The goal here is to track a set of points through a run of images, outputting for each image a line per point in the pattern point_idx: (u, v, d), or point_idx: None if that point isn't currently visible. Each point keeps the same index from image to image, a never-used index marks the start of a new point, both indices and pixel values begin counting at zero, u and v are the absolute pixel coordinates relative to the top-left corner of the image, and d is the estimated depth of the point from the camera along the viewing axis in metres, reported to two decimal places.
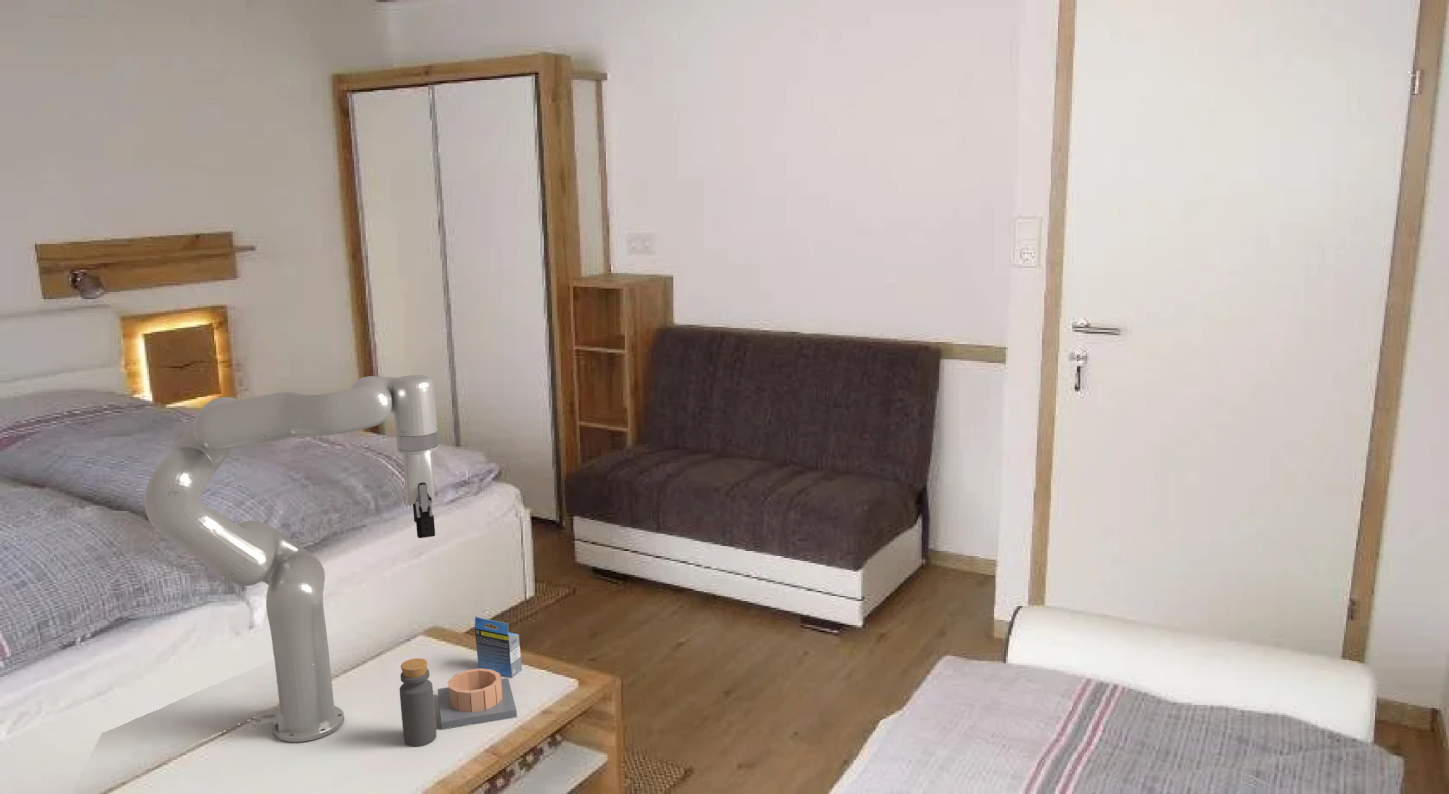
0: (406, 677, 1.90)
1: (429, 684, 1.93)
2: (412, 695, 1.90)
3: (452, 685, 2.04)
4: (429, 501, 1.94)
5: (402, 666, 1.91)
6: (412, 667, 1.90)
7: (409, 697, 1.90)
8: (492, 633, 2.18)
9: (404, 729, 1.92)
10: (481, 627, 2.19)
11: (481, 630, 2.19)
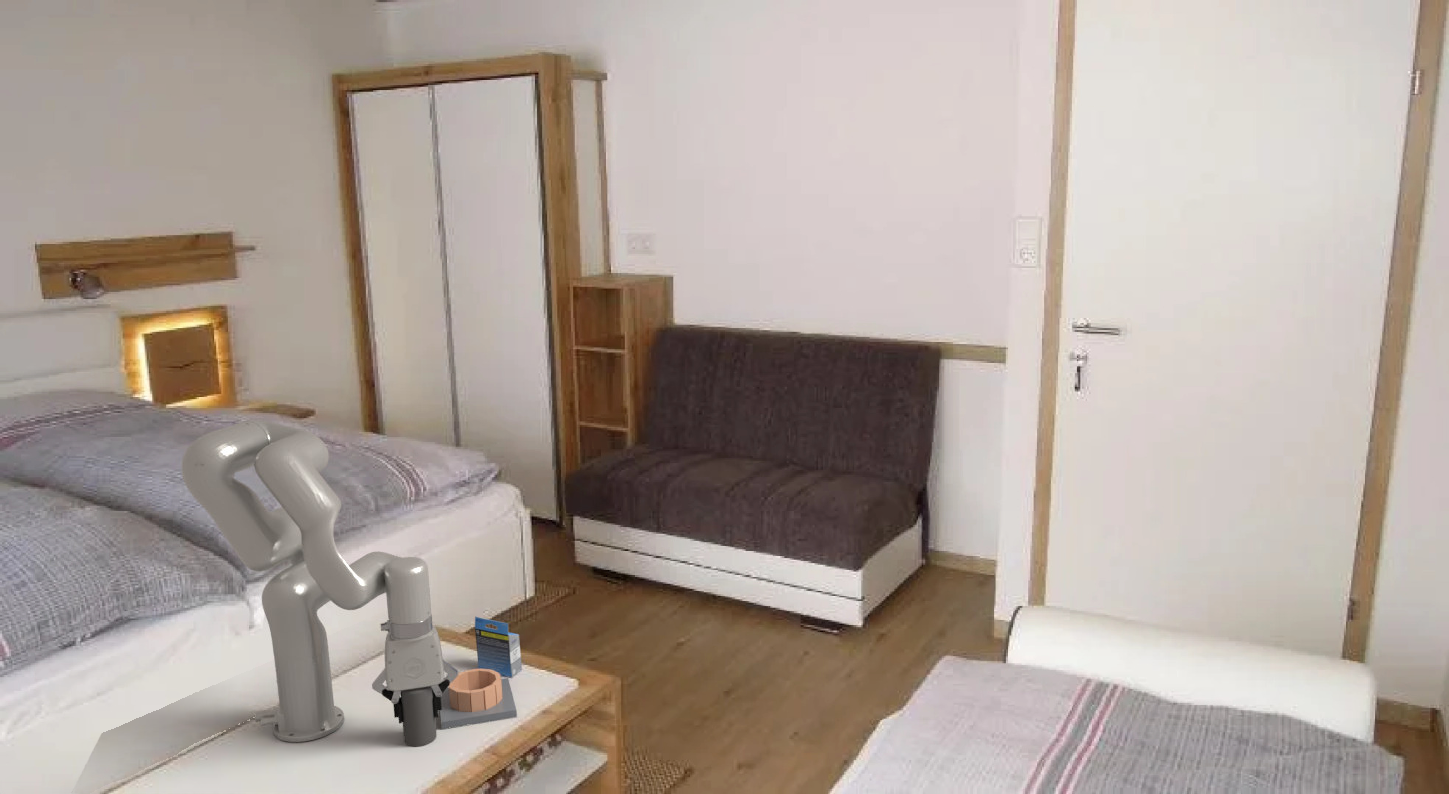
0: None
1: None
2: (413, 695, 1.90)
3: (452, 685, 2.04)
4: None
5: None
6: None
7: (409, 697, 1.90)
8: (492, 633, 2.18)
9: (404, 729, 1.92)
10: (482, 627, 2.19)
11: (481, 630, 2.19)
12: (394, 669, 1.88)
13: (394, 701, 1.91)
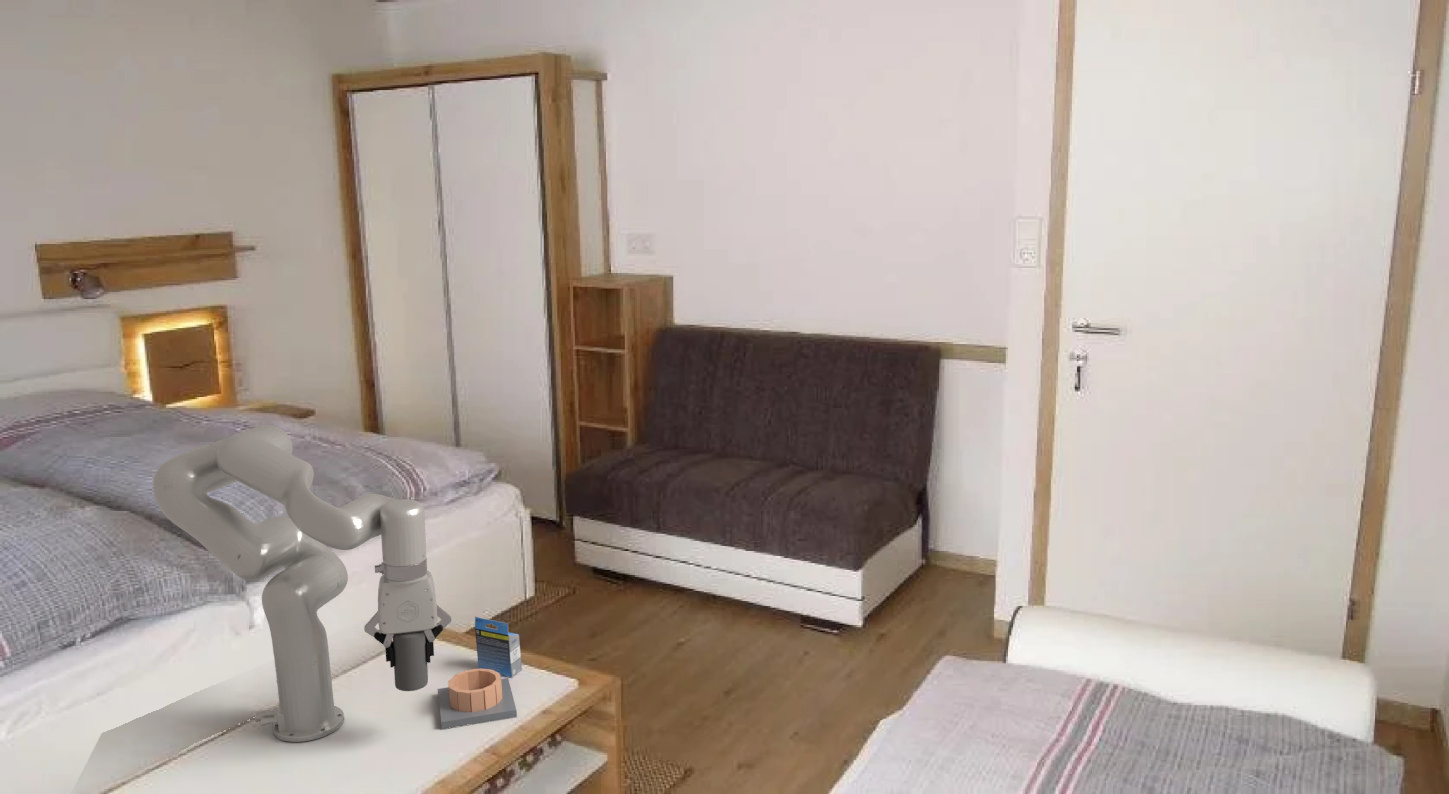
0: None
1: None
2: (405, 639, 1.88)
3: (452, 685, 2.04)
4: None
5: None
6: None
7: (402, 641, 1.88)
8: (492, 633, 2.18)
9: (396, 673, 1.90)
10: (482, 627, 2.19)
11: (481, 630, 2.19)
12: (387, 612, 1.86)
13: (386, 644, 1.89)
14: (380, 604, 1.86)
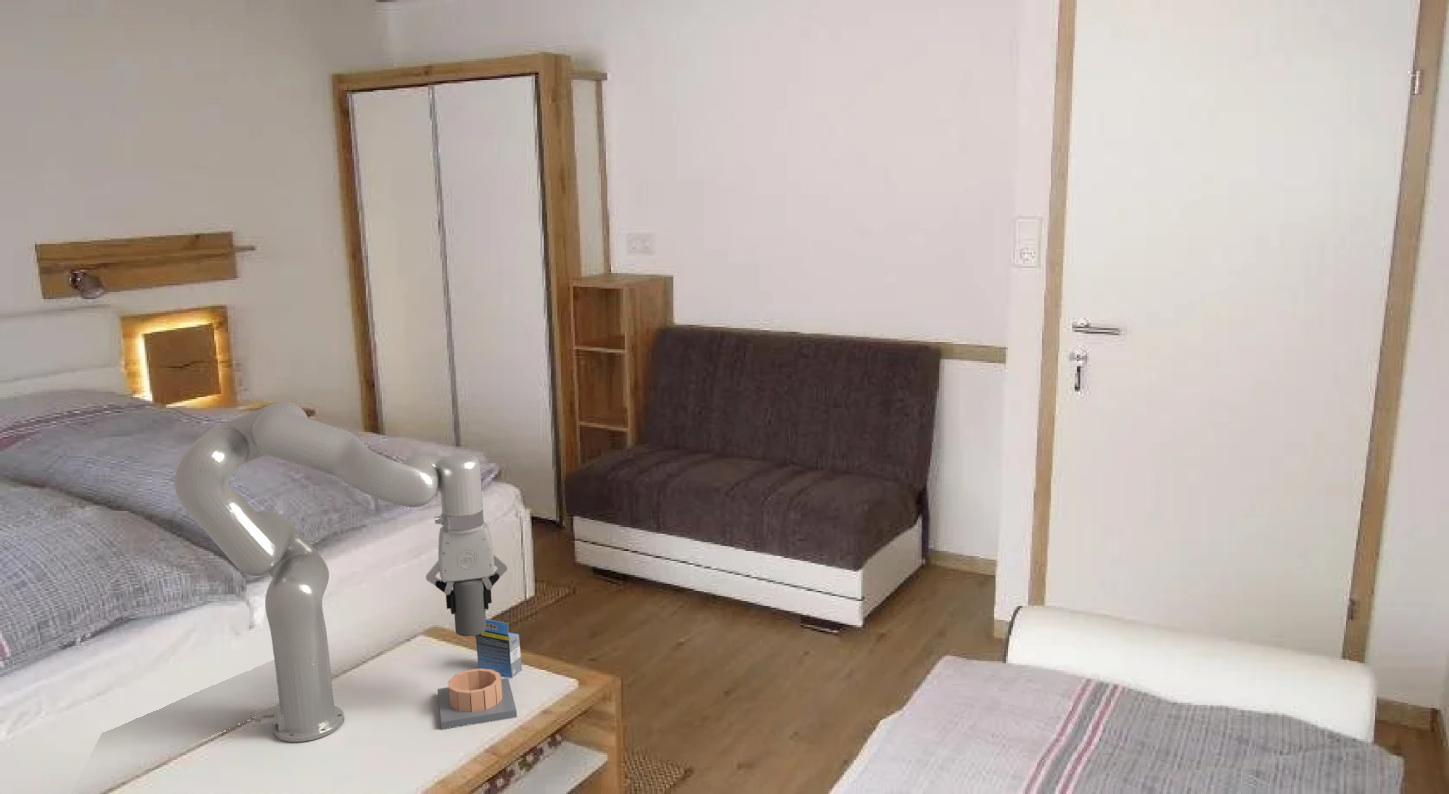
0: None
1: None
2: (465, 586, 1.99)
3: (452, 685, 2.04)
4: None
5: None
6: None
7: (462, 588, 1.99)
8: (492, 633, 2.18)
9: (456, 620, 2.01)
10: None
11: None
12: (448, 560, 1.97)
13: (447, 592, 1.99)
14: (441, 553, 1.96)
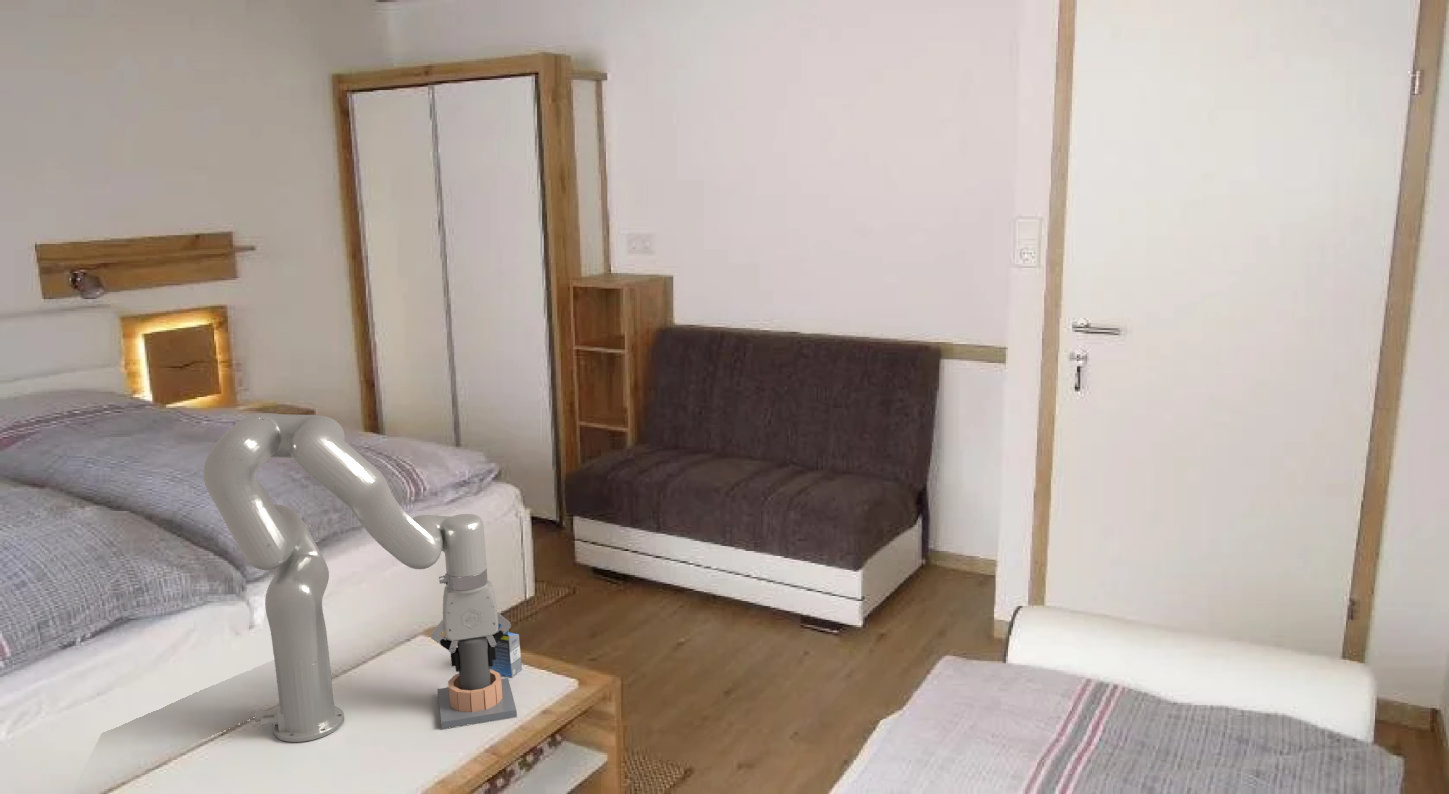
0: None
1: None
2: (470, 645, 2.01)
3: (452, 685, 2.04)
4: None
5: None
6: None
7: (466, 646, 2.01)
8: None
9: (461, 677, 2.03)
10: None
11: None
12: (452, 620, 1.99)
13: (452, 650, 2.02)
14: (445, 612, 1.99)
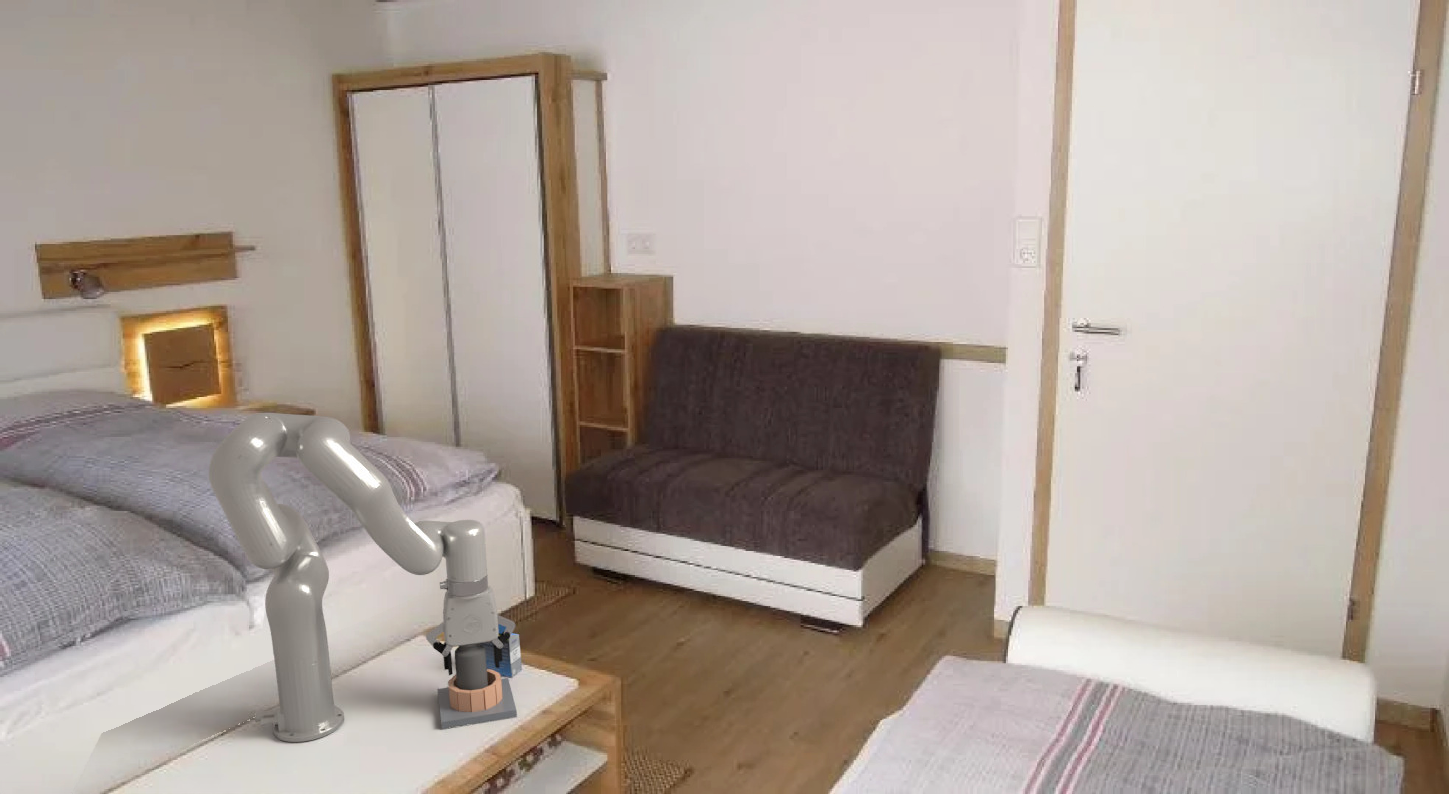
0: None
1: (482, 648, 2.04)
2: (467, 658, 2.01)
3: (452, 685, 2.04)
4: None
5: None
6: None
7: (463, 660, 2.01)
8: None
9: None
10: None
11: None
12: (453, 625, 1.99)
13: (444, 654, 2.01)
14: (446, 618, 1.99)
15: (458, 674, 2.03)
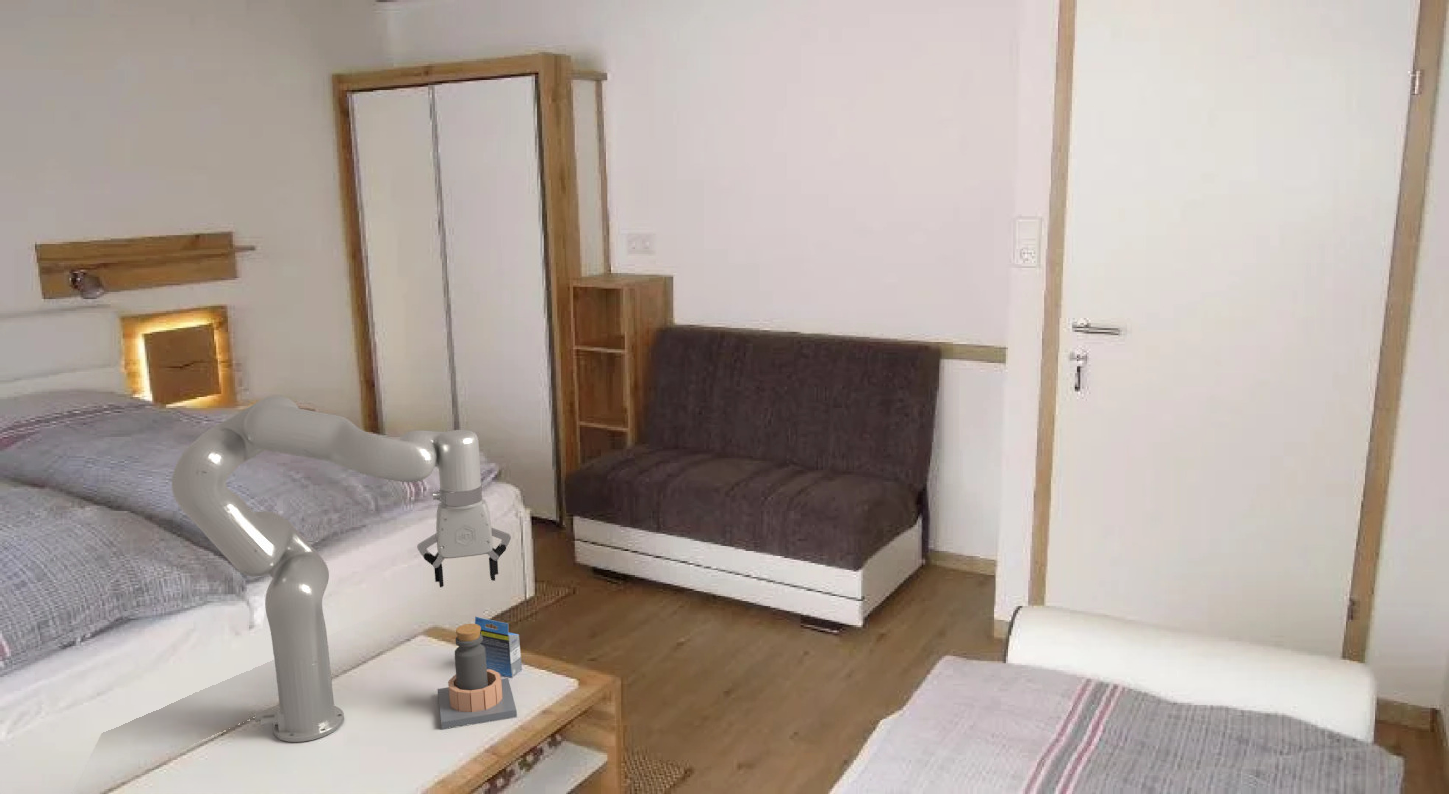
0: (461, 641, 2.02)
1: (482, 648, 2.04)
2: (467, 658, 2.01)
3: (452, 685, 2.04)
4: None
5: (457, 630, 2.02)
6: (466, 631, 2.02)
7: (463, 660, 2.01)
8: (492, 633, 2.18)
9: None
10: (482, 627, 2.19)
11: (481, 630, 2.19)
12: (446, 536, 1.96)
13: (435, 565, 1.98)
14: (439, 529, 1.95)
15: (458, 674, 2.03)
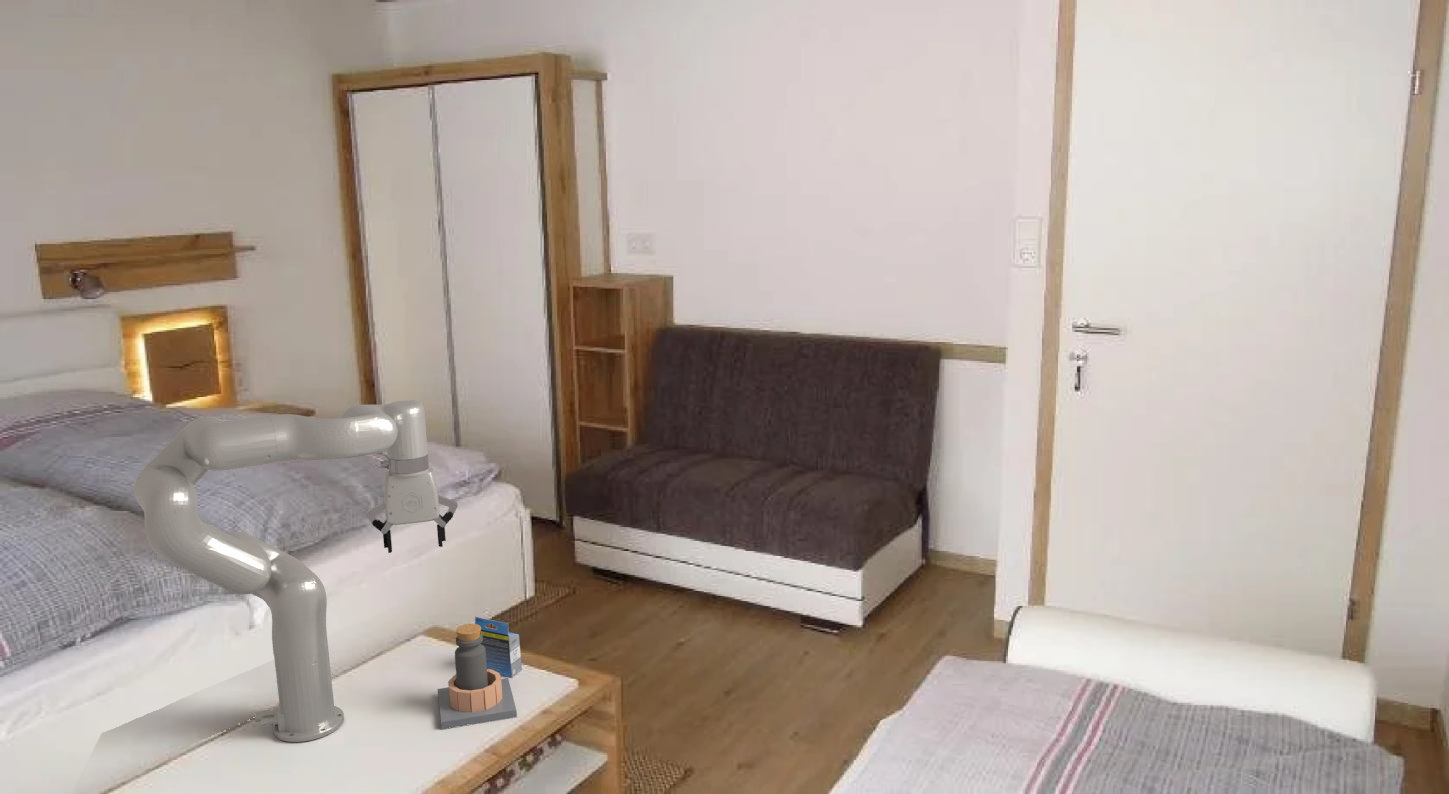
0: (461, 641, 2.02)
1: (482, 648, 2.04)
2: (467, 658, 2.01)
3: (452, 685, 2.04)
4: None
5: (457, 630, 2.02)
6: (467, 632, 2.02)
7: (464, 660, 2.01)
8: (492, 633, 2.18)
9: None
10: (482, 627, 2.19)
11: (481, 630, 2.19)
12: (393, 503, 2.02)
13: (383, 531, 2.04)
14: (386, 496, 2.02)
15: (458, 674, 2.03)
